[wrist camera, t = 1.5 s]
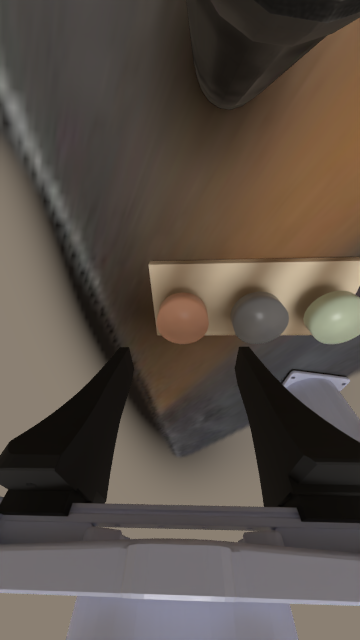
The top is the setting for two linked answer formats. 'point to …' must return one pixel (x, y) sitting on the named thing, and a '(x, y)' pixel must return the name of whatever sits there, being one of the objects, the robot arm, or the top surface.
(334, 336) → the sage button
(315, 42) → the beverage cup
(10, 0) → the top surface
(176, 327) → the terracotta button
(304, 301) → the button board
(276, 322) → the charcoal button
